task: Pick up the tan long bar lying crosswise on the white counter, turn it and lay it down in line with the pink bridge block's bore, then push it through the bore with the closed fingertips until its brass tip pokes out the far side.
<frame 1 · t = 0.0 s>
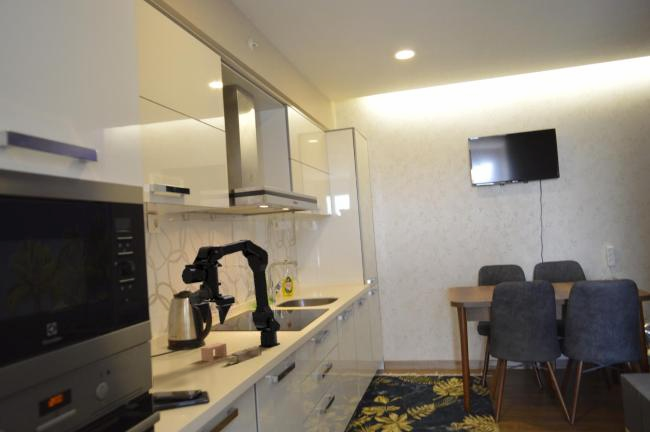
hand: (213, 323, 171), 14 cm above the countertop, fingers open, 9 cm apart
pink bridge block: (214, 358, 179), on the countertop
tan long bar: (244, 359, 174), on the countertop
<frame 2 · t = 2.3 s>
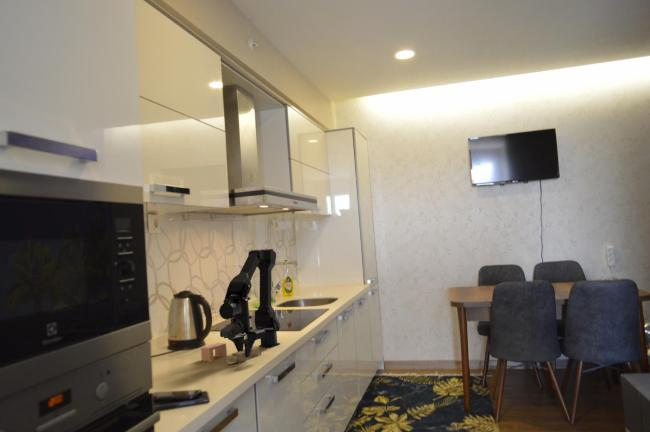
hand: (244, 356, 174), 1 cm above the countertop, fingers closed on tan long bar, 3 cm apart
tan long bar: (244, 359, 174), on the countertop, touching gripper
when the fingers open (2 cm above the countertop, at t = 5.0 s): tan long bar stays where it is, on the countertop.
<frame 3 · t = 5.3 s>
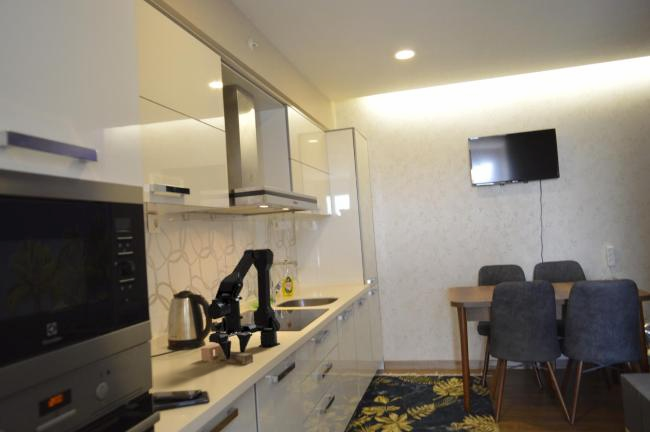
hand: (235, 356, 173), 2 cm above the countertop, fingers open, 7 cm apart
tan long bar: (235, 361, 173), on the countertop
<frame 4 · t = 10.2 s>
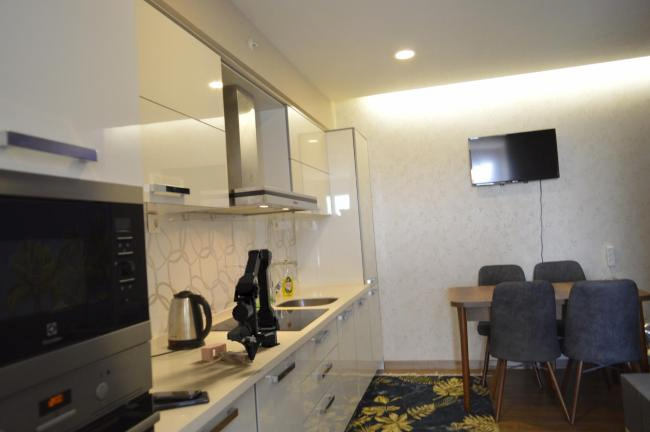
hand: (252, 360, 168), 1 cm above the countertop, fingers closed
tan long bar: (235, 361, 173), on the countertop, touching gripper
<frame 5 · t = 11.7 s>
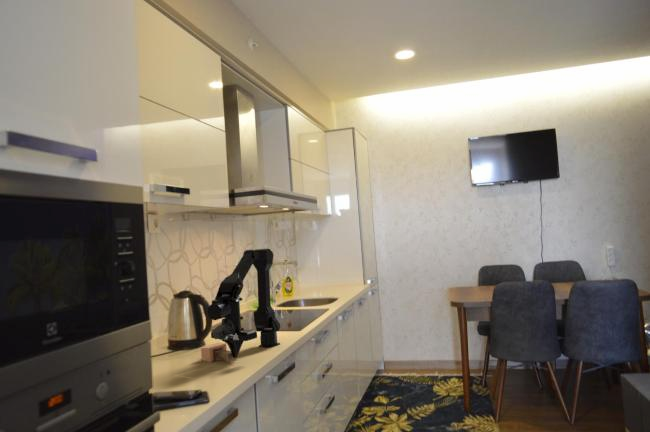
hand: (235, 357, 173), 1 cm above the countertop, fingers closed
tan long bar: (219, 358, 178), on the countertop, touching gripper
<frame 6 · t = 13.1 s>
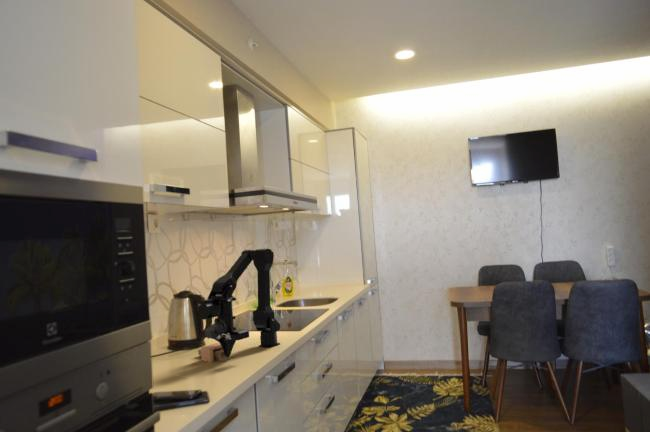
hand: (227, 356, 175), 1 cm above the countertop, fingers closed
tan long bar: (213, 357, 180), on the countertop, touching gripper
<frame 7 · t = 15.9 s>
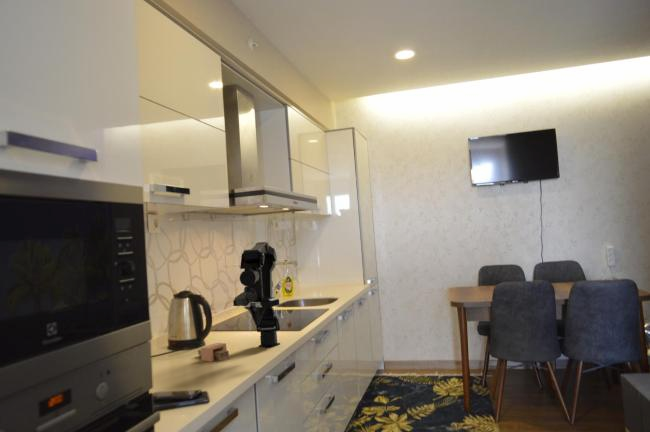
hand: (257, 325, 175), 12 cm above the countertop, fingers closed
tan long bar: (213, 357, 180), on the countertop
at the end: tan long bar inside the target area on the pink bridge block (0.9 cm from its centre), point 0.0 cm above the pink bridge block's base; tan long bar on the countertop; the gripper is holding nothing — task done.
